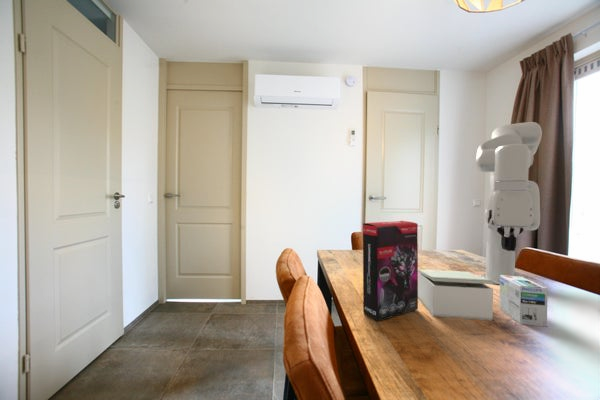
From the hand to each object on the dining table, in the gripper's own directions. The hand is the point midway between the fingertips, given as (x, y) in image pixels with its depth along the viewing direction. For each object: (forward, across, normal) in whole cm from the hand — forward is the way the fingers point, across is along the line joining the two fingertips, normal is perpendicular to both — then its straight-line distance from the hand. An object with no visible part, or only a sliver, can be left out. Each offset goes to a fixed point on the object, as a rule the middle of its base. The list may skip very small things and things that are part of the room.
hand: (508, 249), depth 75 cm
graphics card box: (+19, +34, +4) cm, 39 cm away
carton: (+20, +14, -2) cm, 24 cm away
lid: (+10, +14, -3) cm, 17 cm away
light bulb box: (+20, -4, 0) cm, 20 cm away
